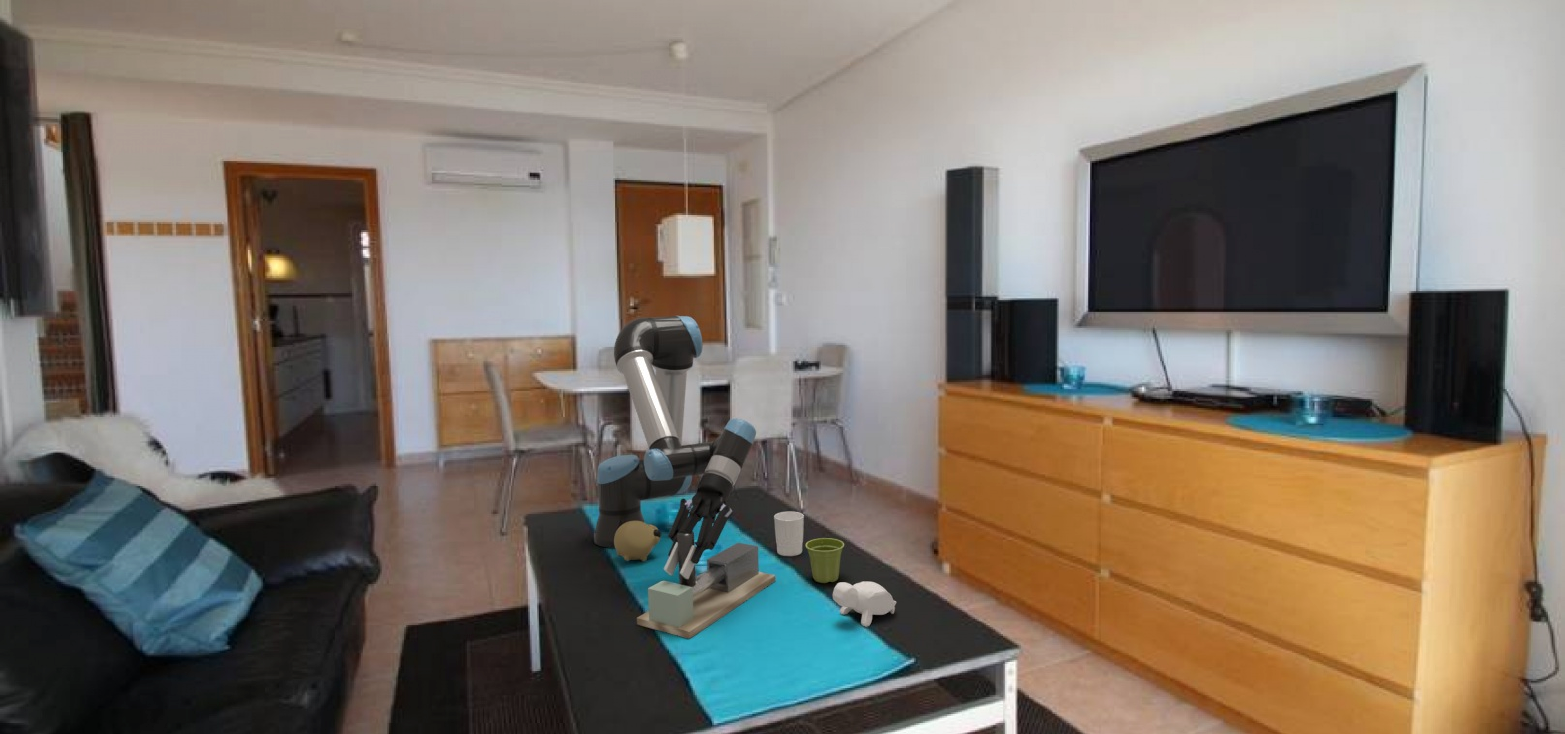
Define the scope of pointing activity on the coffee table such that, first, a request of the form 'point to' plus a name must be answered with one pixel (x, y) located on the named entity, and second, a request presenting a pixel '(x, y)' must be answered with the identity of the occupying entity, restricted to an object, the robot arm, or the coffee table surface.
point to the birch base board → (711, 606)
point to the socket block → (670, 603)
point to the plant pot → (825, 558)
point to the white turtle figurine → (863, 600)
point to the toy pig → (636, 540)
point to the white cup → (789, 533)
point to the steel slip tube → (700, 581)
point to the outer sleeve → (735, 565)
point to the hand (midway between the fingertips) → (676, 574)
